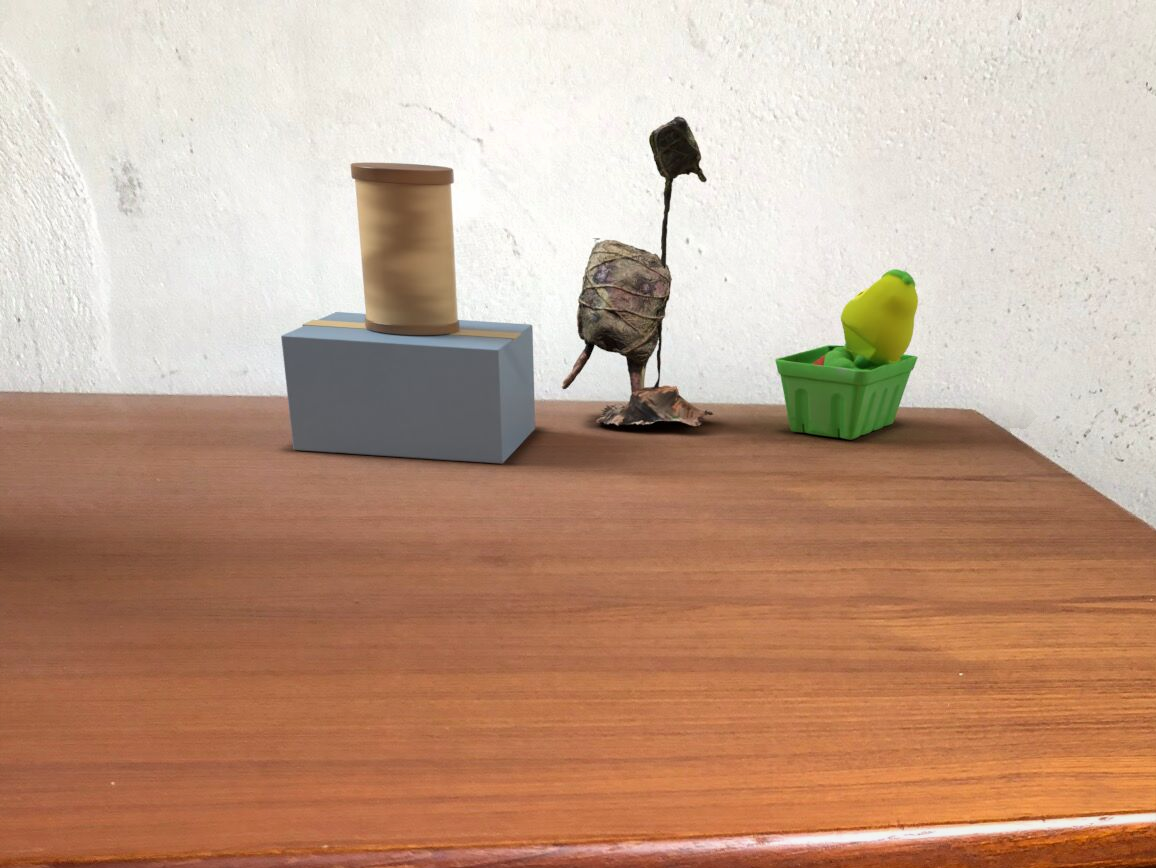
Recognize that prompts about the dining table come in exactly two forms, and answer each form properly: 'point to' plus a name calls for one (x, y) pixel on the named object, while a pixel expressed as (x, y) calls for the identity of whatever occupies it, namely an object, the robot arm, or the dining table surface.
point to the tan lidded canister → (407, 248)
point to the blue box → (410, 390)
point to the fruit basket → (856, 365)
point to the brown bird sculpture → (637, 298)
